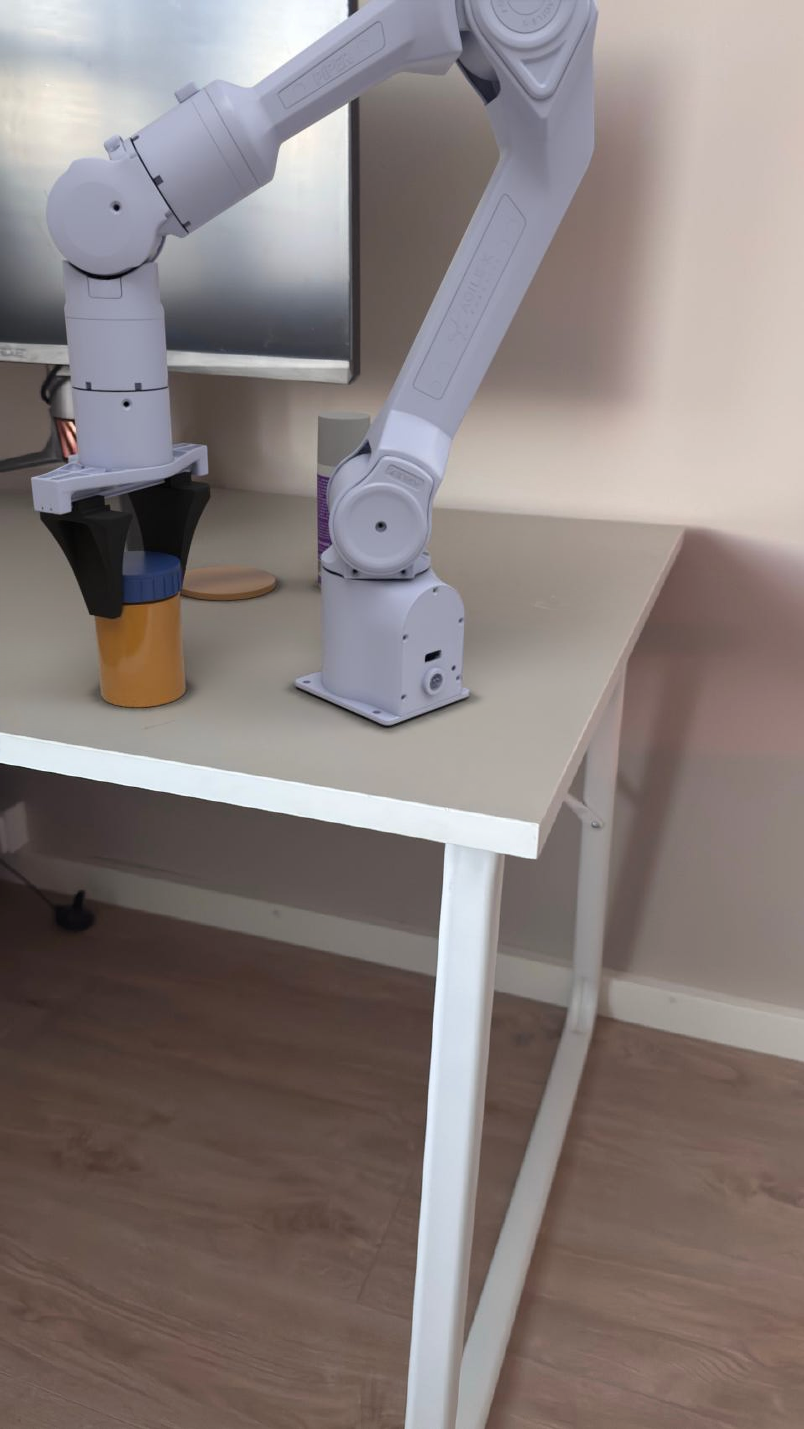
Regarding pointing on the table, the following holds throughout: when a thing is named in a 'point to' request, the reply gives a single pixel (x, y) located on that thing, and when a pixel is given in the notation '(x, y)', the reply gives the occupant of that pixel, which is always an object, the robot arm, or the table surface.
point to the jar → (142, 654)
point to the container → (334, 461)
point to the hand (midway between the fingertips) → (137, 602)
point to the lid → (150, 576)
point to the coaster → (227, 583)
